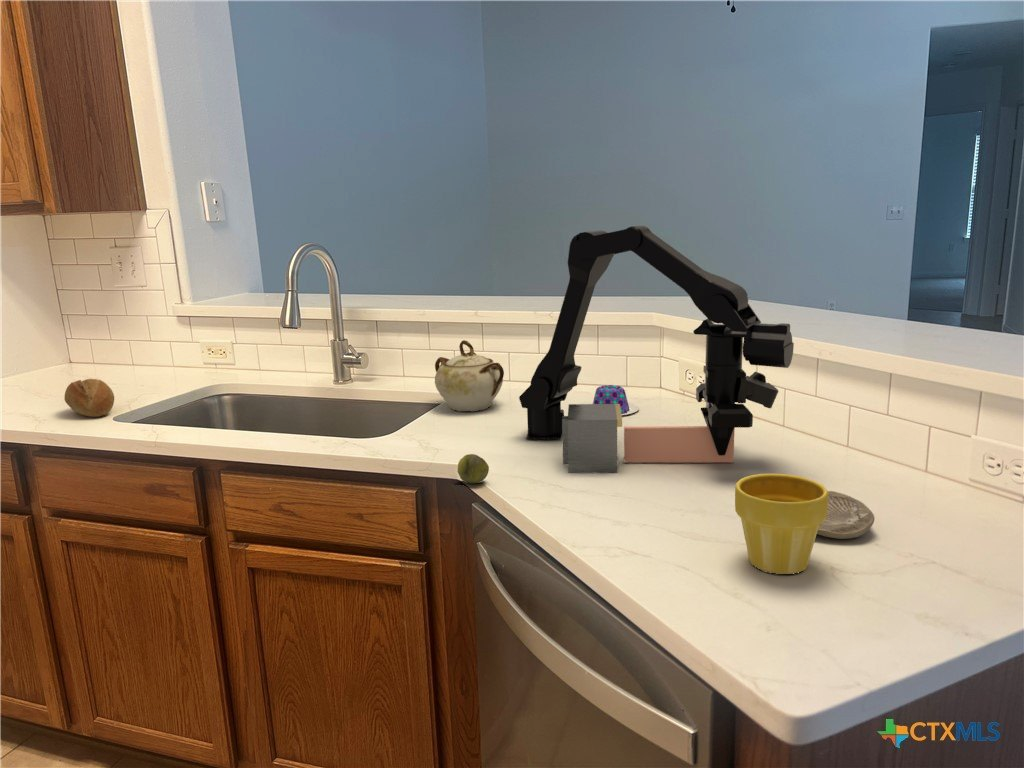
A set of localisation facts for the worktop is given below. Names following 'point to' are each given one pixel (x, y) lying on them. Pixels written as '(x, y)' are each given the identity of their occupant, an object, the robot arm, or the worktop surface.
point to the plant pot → (780, 519)
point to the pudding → (614, 398)
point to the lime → (472, 468)
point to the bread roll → (89, 397)
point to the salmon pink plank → (673, 445)
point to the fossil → (845, 517)
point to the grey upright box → (591, 438)
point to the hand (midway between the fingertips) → (720, 453)
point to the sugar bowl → (468, 380)
